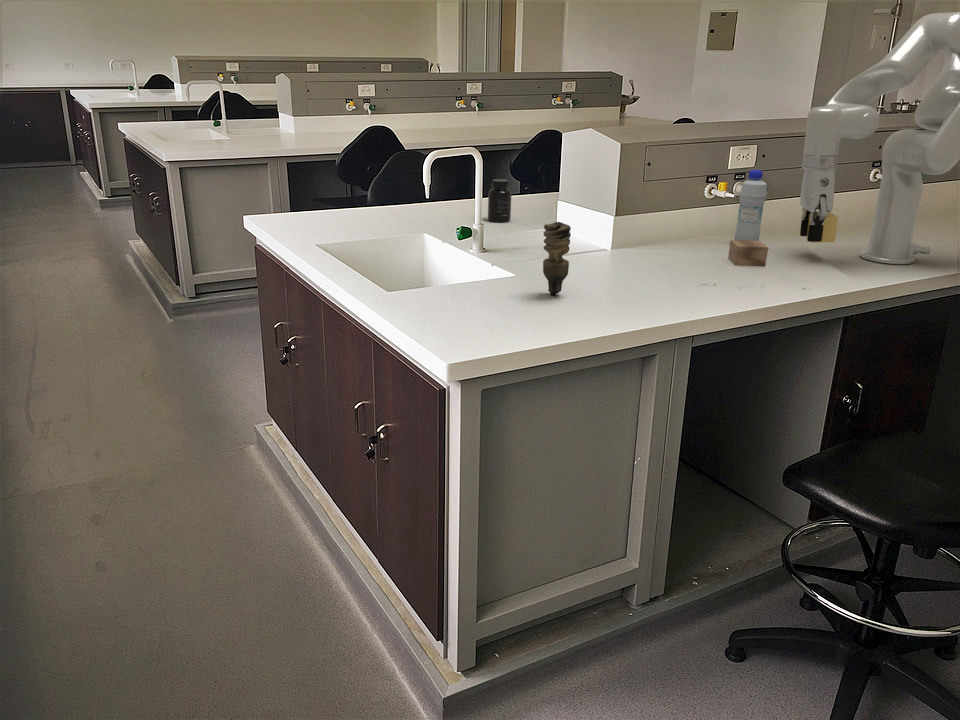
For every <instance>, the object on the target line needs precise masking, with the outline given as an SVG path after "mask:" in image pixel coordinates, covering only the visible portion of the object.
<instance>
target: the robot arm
mask: <svg viewBox="0 0 960 720" xmlns="http://www.w3.org/2000/svg"><path fill="white" fill-rule="evenodd" d="M939 54H945V57H944V58H945V59H944V64H943V67H942V70H941V71H940V73H939V74H938V76H937V77H936V79H935V80H934V82H933V83H932V84H931V86H930V88H929V89H928V90H927V91H926V93H925V95H924V96H923V98H922V99H921V101H920V102H919V104H918V105H917V107H916V110H915V112H914V122H915V124H916V125H917V126H918V127H919V128H922V129H925V130H922V129H914V128H913V129H912V128H911V129H910V128H907V129H906V128H905V129H900V130H898V131H895V132H893V133H892V134H891V135H889V137H888V138H887V139H886V141H885V142H884V144H883V148H882V152H881V153H882V154H881V155H882V157H881V163H882V166H881V167H882V171H881V179H880V184H879V185H880V186H879V190H878V195H877V199H876V205H875V209H874V210H875V211H874V215H873V219H872V220H873V221H872V225H871V230H870V235H869V239H868V245H867V249H862V250H860V251H859V256H861V259H864V260H867V261H871V262H875V263H881V264H890V265H910V264H913V263H915V259H916V255H917V254H921V255H929V254H930V253H931V246H929V245H928V246H927V245H925V246H921V245H919V244H915V242H913V237H914V232H915V228H916V223H917V219H918V214H919V209H920V206H921V201H922V197H923V191H924V181H923V176H922V174H925V175H930V176H932V175H933V176H938V175H939V176H940V175H943V174H945V173H948V172H949V171H950V170H951V169H952V168H953V167H954V166H955V165H956V164H957V163H958V162H959V160H960V11H954V12H953V11H952V12H935V13H929V14H926V15H924V16H922V17H921V18H919V19H918V20H916V22H915V23H914V24H913V25H912V26H911V27H910V29H909V30H907V32H906V33H905V34H904V35H903V36H902V38H901V39H899V41H898V42H897V43H896V44H895V45H894V46H893V47H892V49H890V51H889V52H888V53H887V54H886V55H885V56H884V57H883V58H882V60H880V61H879V62H877V64H874V65H873V66H871V67H869V68H868V69H866V70H865V71H863V72H861V73H860V74H858V75H856V76H854V78H851V80H849V81H848V82H846V83H845V84H844V85H843V86H842V87H840V88H839V89H838V90H837V92H836V93H834V94H833V96H832V97H831V98H830V99H829V100H828V102H827V103H826V104H825V105H824V106H816V107H812V108H810V109H809V111H808V113H807V119H806V120H807V121H806V129H805V138H804V147H803V155H802V162H801V163H802V164H801V169H802V170H804V172H803V176H802V183H801V190H800V195H799V196H800V198H799V201H800V202H799V204H800V206H801V207H802V213H801V221H800V222H801V223H800V230H799V236H800V237H806V240H807V242H809V243H813V242H814V243H821V242H820V241H822V234H823V226H824V220H825V217H826V216H827V213H832V211H833V207H834V198H835V197H834V196H835V185H836V184H835V182H836V181H835V178H836V177H835V176H836V175H835V173H836V172H835V170H837V165H838V158H839V153H840V152H839V149H840V143H841V142H840V141H841V139H843V138H844V139H846V138H847V139H854V140H859V139H865V138H868V137H870V136H871V135H873V134H874V133H875V132H876V131H877V130H878V128H879V125H880V121H881V120H880V118H881V116H880V114H879V112H878V110H877V109H876V108H874V107H873V106H871V105H867V103H868V102H869V101H872V100H874V99H875V98H879V97H881V96H884V95H887V94H888V95H889V94H892V93H895V92H896V91H899V90H903V89H905V88H906V87H908V86H910V85H911V84H912V83H913V81H915V79H917V77H918V76H919V75H921V73H922V72H923V70H925V69H926V68H927V66H929V64H930V63H931V62H932V61H933V60H934V58H935V57H937V55H939ZM817 210H819V211H817ZM810 213H811V225H809V230H808V223H809V214H810ZM815 215H817V216H816V218H815ZM807 232H808V238H807Z"/></svg>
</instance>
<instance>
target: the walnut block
mask: <svg viewBox="0 0 960 720" xmlns="http://www.w3.org/2000/svg"><path fill="white" fill-rule="evenodd" d="M768 253H769V246H767V245H766V244H765V243H763V242H762V241H761V240H759V241H744V240H734V239H730V243H729V249H728V259H729V260H730V261H731V262H732V263H733V264H734V265H738V266H763V267H765V266H766V264H767V259H768Z"/></svg>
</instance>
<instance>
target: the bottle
mask: <svg viewBox="0 0 960 720" xmlns="http://www.w3.org/2000/svg"><path fill="white" fill-rule="evenodd" d="M762 179H763V171H762V170H758V169H752V170H750V171H749V173H748V179H747V180H745V181H743V182H742V185H741V187H740V188H741V189H740V192H739V199H738V200H739V206H738V207H739V208H738V215H737V222H736V228H735V232H734V239H733V240H744V241H760V235H761V225H762V218H763V212H764V210H763V209H764V206H765V205H764V203H766V198H767V196H768V193H767V191H768V190H767V183H766V182H765V181H763V180H762Z"/></svg>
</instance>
